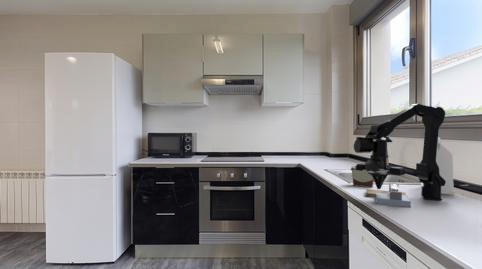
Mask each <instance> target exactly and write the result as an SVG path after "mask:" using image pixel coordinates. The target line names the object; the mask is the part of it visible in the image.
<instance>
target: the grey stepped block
mask: <svg viewBox="0 0 482 269" xmlns="http://www.w3.org/2000/svg"><path fill="white" fill-rule="evenodd" d="M402 192H403V191H398V192H397V191H390V194H385V193H376V197H375V201H376V202H375V203H376V204H378V205H389V206H399V207H406V208H407V207H409V208H411V207H412V206H411V204H412V202H411V199H410V197H409V195H407V194H406V195H402Z"/></svg>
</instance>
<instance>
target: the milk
mask: <svg viewBox="0 0 482 269" xmlns="http://www.w3.org/2000/svg"><path fill="white" fill-rule="evenodd" d="M441 142H442V141H441V137H438V143H437V154H436V163H437V165H438V167H439V173H440V176H441V177H442V178H443V179H444V180H445V181H446V182H445V185H444V186H441V195H453V194H454V192H455V191H454V163H453V162H454V161H453V160H454V159H453V154H452V152H450V150H448V149H447V148H446V147H445V146H444V145H443V144H441ZM421 186H423V183H421V182H420V187H421Z"/></svg>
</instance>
